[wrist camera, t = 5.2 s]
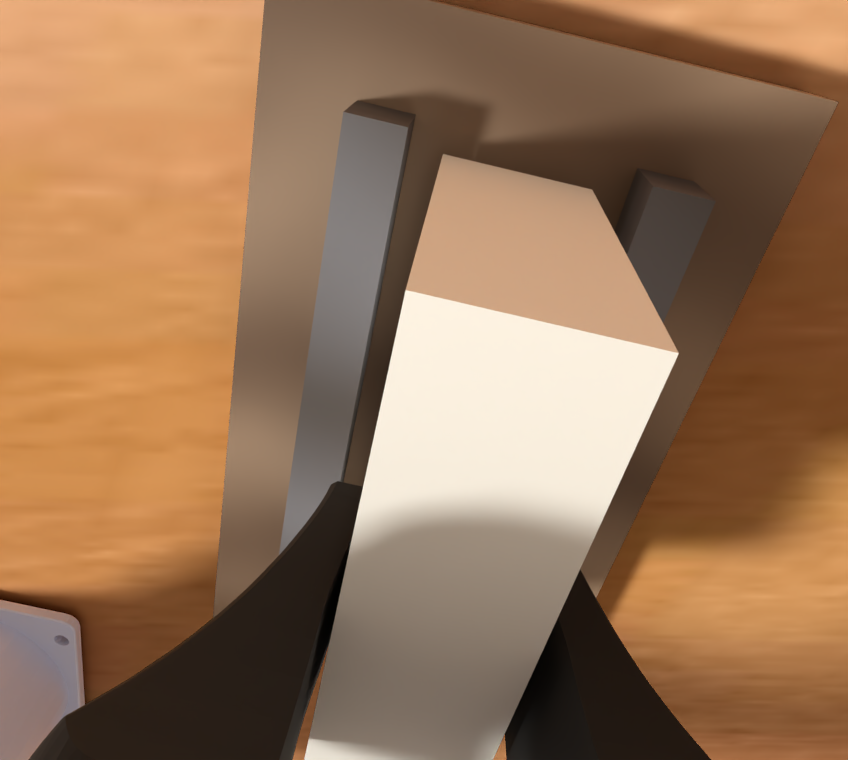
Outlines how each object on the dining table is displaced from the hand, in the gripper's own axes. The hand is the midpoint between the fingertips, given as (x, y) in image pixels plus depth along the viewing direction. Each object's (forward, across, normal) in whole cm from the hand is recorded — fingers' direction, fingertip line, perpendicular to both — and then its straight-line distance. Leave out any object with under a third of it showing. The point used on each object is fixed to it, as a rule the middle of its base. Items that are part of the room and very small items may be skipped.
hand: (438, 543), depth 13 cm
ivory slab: (+4, 0, 0) cm, 4 cm away
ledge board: (+6, 0, 0) cm, 6 cm away
